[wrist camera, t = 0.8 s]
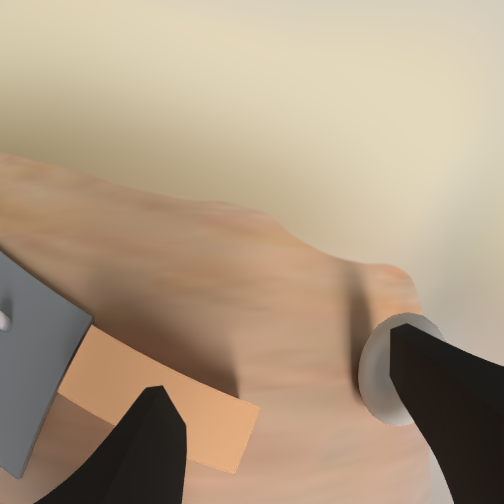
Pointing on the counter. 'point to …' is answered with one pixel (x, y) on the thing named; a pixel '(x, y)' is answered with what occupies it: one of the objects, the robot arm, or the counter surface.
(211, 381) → the counter surface
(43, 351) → the post board
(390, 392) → the donut
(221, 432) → the rectangular block
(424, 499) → the counter surface
